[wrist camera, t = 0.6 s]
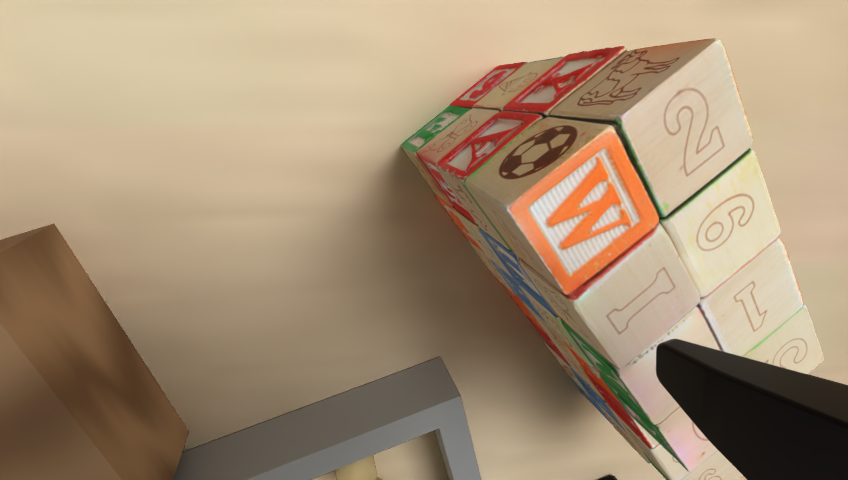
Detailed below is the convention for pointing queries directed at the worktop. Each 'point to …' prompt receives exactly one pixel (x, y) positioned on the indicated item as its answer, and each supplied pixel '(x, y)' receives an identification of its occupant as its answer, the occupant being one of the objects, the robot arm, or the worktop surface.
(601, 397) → the stack of blocks
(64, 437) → the board
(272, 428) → the frame
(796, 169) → the worktop surface
